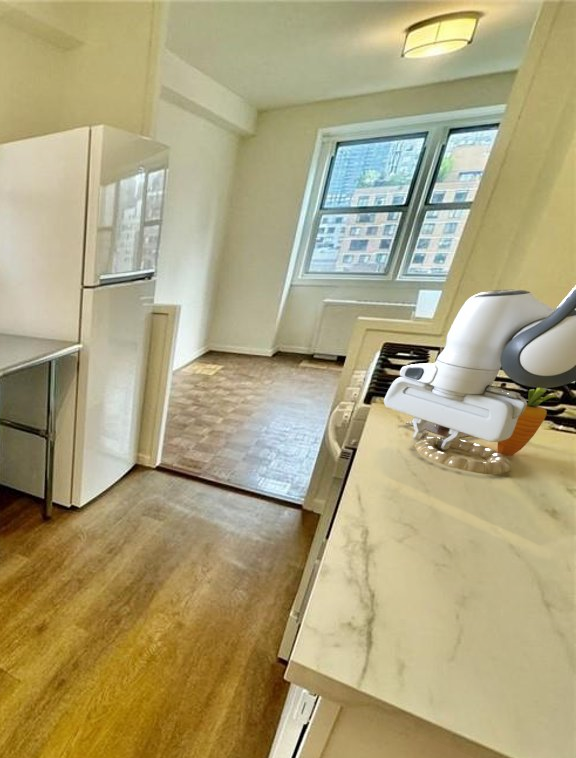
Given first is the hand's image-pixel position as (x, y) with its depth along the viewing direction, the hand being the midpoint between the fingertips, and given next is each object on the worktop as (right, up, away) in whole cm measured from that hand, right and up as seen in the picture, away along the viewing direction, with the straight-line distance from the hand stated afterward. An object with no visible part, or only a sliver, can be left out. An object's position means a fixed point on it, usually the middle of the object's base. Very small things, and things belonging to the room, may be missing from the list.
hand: (429, 443), depth 98 cm
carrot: (+12, -3, -3) cm, 13 cm away
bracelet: (+2, -2, -5) cm, 5 cm away
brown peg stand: (+10, +2, +8) cm, 13 cm away
